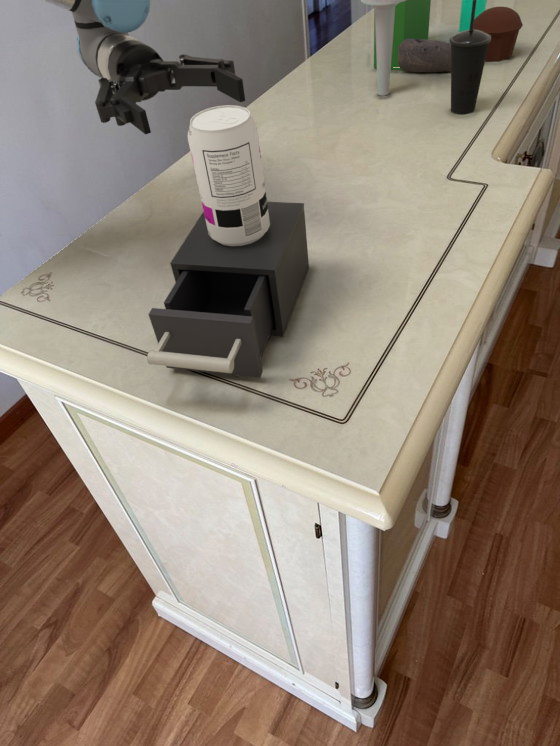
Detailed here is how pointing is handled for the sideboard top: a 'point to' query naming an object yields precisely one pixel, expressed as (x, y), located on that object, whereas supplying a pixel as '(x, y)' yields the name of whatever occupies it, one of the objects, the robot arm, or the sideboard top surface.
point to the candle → (466, 13)
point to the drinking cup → (467, 66)
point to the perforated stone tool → (424, 55)
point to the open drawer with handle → (214, 323)
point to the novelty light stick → (383, 40)
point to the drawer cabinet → (256, 257)
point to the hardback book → (407, 26)
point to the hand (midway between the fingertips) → (195, 106)
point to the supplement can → (229, 174)
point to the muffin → (499, 31)
